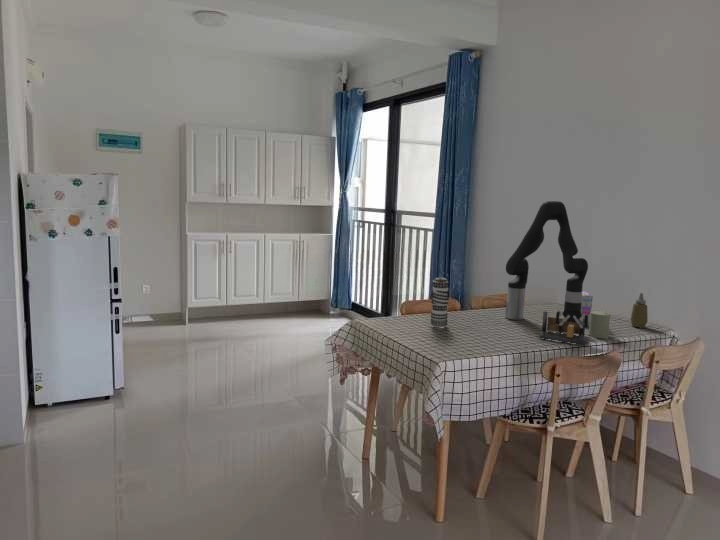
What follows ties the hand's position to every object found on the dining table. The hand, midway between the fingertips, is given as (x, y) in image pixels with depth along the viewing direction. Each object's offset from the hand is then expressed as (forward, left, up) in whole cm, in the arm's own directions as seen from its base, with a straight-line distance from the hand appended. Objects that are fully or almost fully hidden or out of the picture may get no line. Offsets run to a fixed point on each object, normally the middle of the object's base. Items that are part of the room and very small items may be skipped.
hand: (570, 334), depth 265 cm
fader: (0, 0, -1) cm, 1 cm away
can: (+11, +18, -3) cm, 21 cm away
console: (-3, 0, -3) cm, 4 cm away
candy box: (+1, +42, -4) cm, 42 cm away
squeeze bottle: (+28, +49, -3) cm, 57 cm away
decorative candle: (-63, -6, -3) cm, 63 cm away
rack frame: (-5, +13, -3) cm, 14 cm away
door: (-5, +12, -2) cm, 13 cm away
